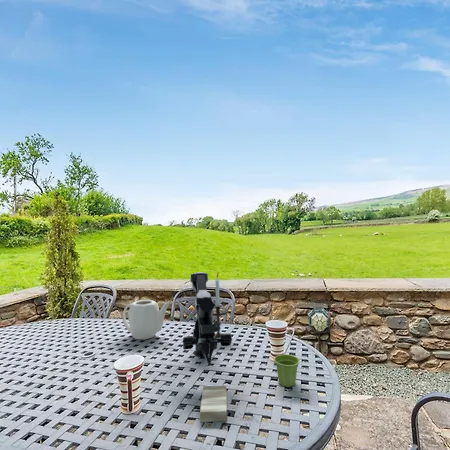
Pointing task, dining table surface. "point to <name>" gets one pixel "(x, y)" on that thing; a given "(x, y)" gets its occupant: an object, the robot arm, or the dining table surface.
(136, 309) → the white lidless teapot
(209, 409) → the tile
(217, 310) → the candlestick
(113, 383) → the dining table surface
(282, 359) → the plant pot
